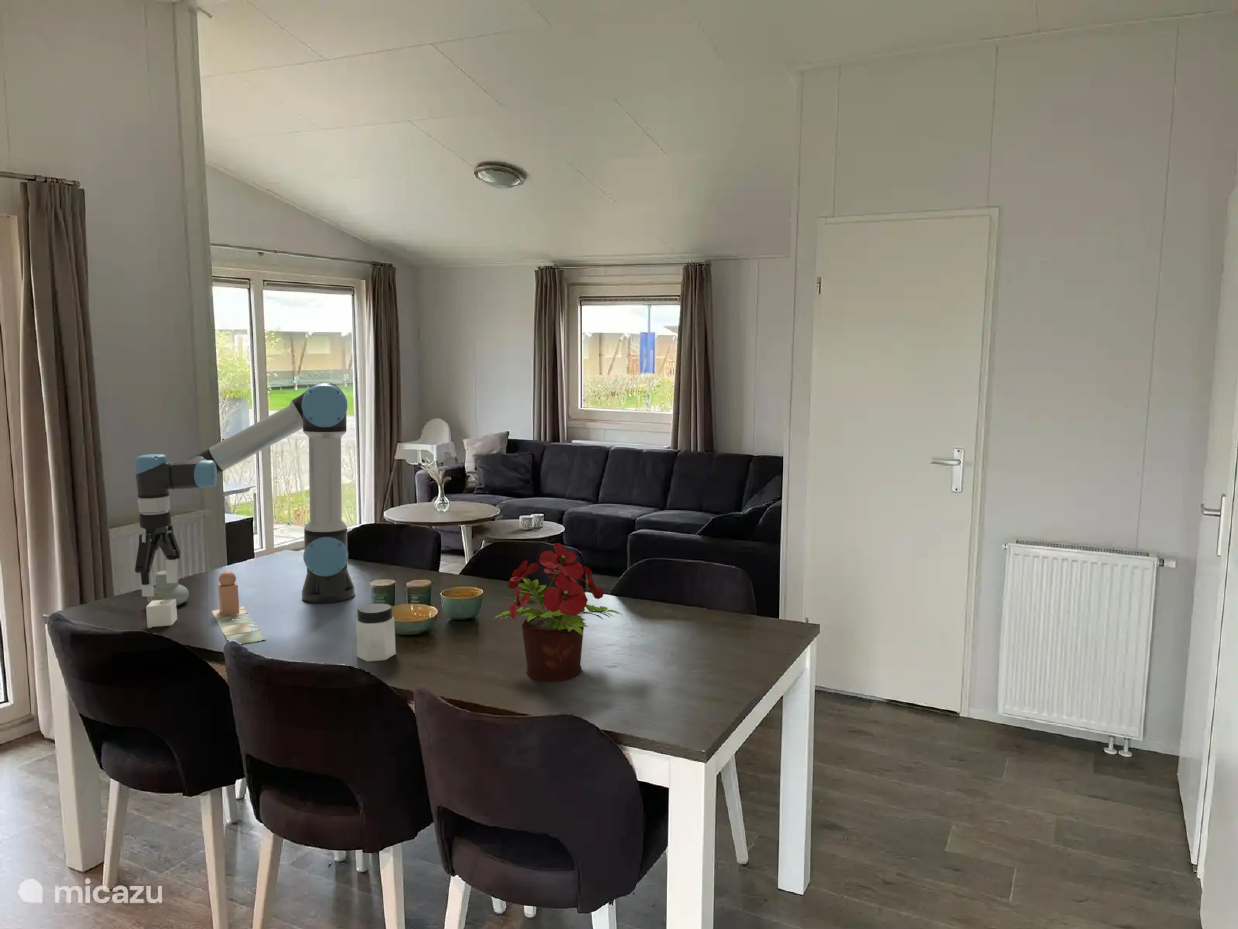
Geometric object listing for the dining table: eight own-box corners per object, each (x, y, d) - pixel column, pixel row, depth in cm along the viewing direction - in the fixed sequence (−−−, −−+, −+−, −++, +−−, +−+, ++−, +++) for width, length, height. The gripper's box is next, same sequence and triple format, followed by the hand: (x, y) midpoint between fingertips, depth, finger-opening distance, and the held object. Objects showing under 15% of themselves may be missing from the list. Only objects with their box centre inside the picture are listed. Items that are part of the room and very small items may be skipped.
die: (177, 620, 247) (175, 598, 246) (171, 626, 241) (170, 604, 240) (152, 622, 245) (151, 600, 245) (146, 628, 240) (145, 606, 239)
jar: (356, 663, 212) (354, 614, 210) (358, 652, 220) (356, 604, 218) (395, 660, 214) (393, 611, 212) (396, 649, 222) (394, 602, 220)
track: (243, 607, 259) (243, 606, 259) (266, 640, 229) (266, 639, 229) (211, 611, 254) (211, 610, 254) (230, 646, 224) (230, 645, 224)
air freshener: (194, 602, 264) (192, 569, 263) (176, 610, 256) (173, 576, 255) (161, 600, 266) (159, 568, 264) (142, 608, 258) (139, 575, 256)
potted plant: (518, 699, 189) (515, 561, 185) (484, 659, 214) (481, 536, 210) (644, 678, 201) (643, 548, 197) (598, 642, 225) (597, 526, 221)
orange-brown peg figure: (236, 608, 256) (234, 568, 254) (239, 612, 252) (236, 572, 250) (219, 611, 253) (217, 570, 252) (222, 615, 250) (219, 574, 248)
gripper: (162, 504, 251) (168, 577, 254) (115, 521, 227) (122, 602, 229) (189, 504, 252) (194, 577, 254) (145, 520, 227) (151, 601, 230)
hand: (160, 589), depth 242 cm, fingers open, 13 cm apart
